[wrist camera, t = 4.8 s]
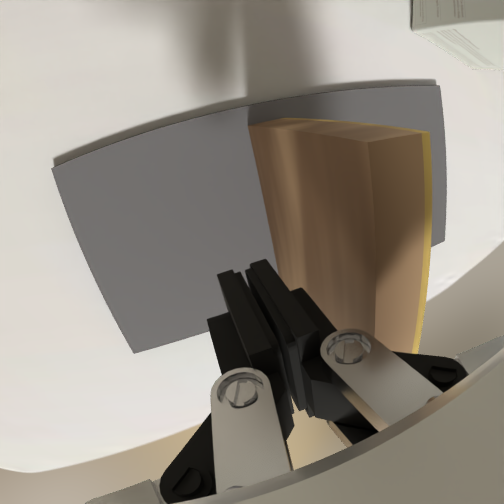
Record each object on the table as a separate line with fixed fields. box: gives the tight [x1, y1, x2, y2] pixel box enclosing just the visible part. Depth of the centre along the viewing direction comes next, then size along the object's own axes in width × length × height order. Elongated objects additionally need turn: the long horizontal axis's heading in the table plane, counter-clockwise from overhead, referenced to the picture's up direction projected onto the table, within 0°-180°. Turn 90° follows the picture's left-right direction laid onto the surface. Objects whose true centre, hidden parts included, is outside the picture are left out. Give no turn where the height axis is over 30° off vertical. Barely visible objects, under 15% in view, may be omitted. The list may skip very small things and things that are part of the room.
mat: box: [51, 85, 447, 354], centre depth 18 cm, size 24×12×1 cm, turn 102°
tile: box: [248, 118, 432, 354], centre depth 13 cm, size 2×10×10 cm, turn 11°
